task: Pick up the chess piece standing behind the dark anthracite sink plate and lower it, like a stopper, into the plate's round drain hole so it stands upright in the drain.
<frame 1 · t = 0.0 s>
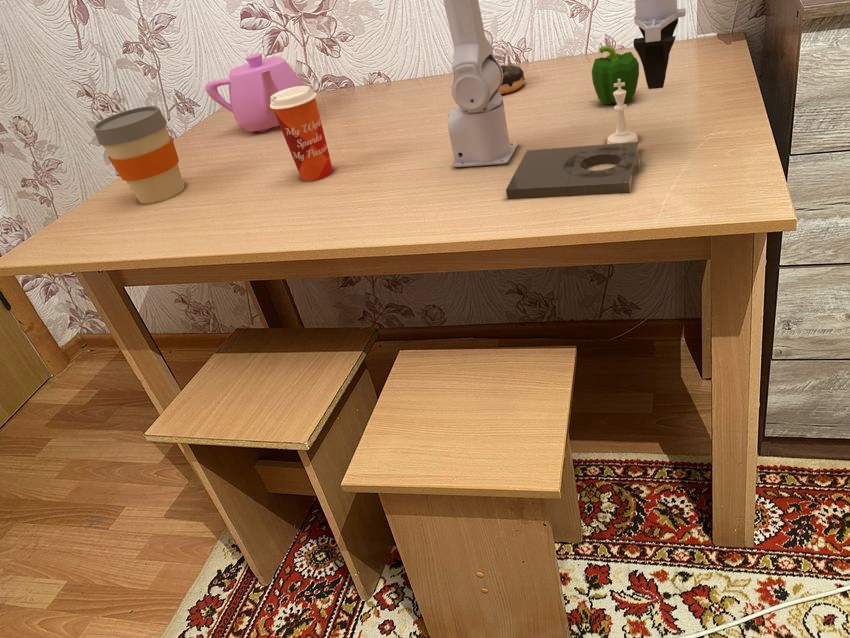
hand: (657, 79, 104), 10 cm above the table, tool pointing down, fingers open, 7 cm apart
donut: (498, 90, 150), on the table
teapot: (277, 123, 162), on the table
bell pepper: (617, 101, 130), on the table
coffee cup: (317, 175, 129), on the table
sink plate: (574, 174, 107), on the table
reusable coffee cup: (162, 194, 136), on the table
chess piece: (622, 142, 114), on the table
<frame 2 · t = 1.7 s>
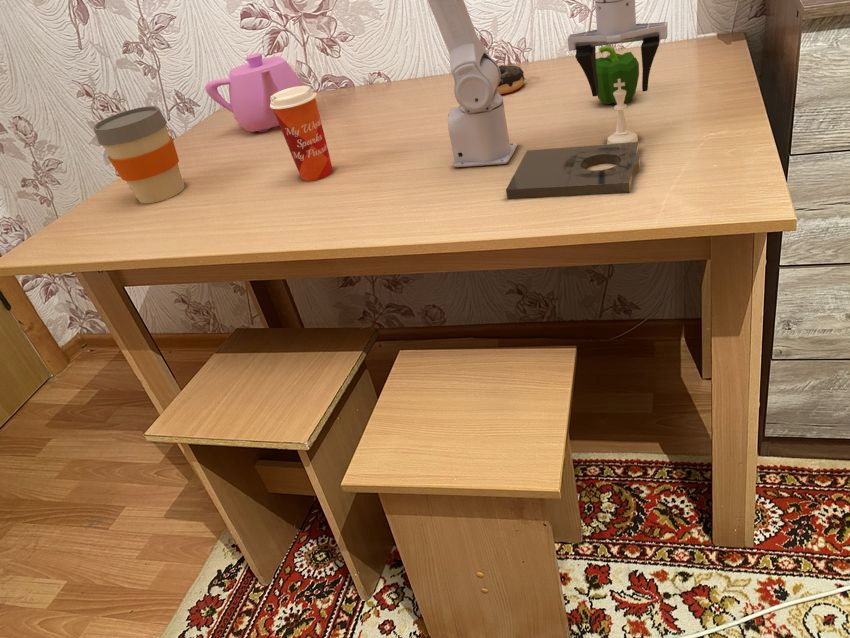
hand: (620, 91, 109), 8 cm above the table, tool pointing down, fingers open, 7 cm apart
nothing on the table moved.
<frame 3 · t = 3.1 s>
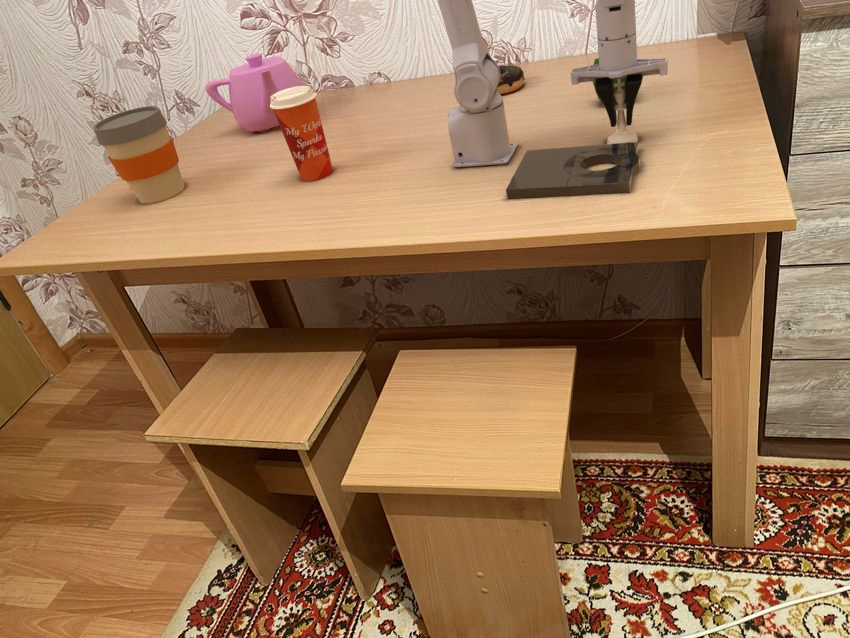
hand: (621, 124, 112), 3 cm above the table, tool pointing down, fingers closed on chess piece
chess piece: (622, 142, 114), on the table, touching gripper
everything else where it was.
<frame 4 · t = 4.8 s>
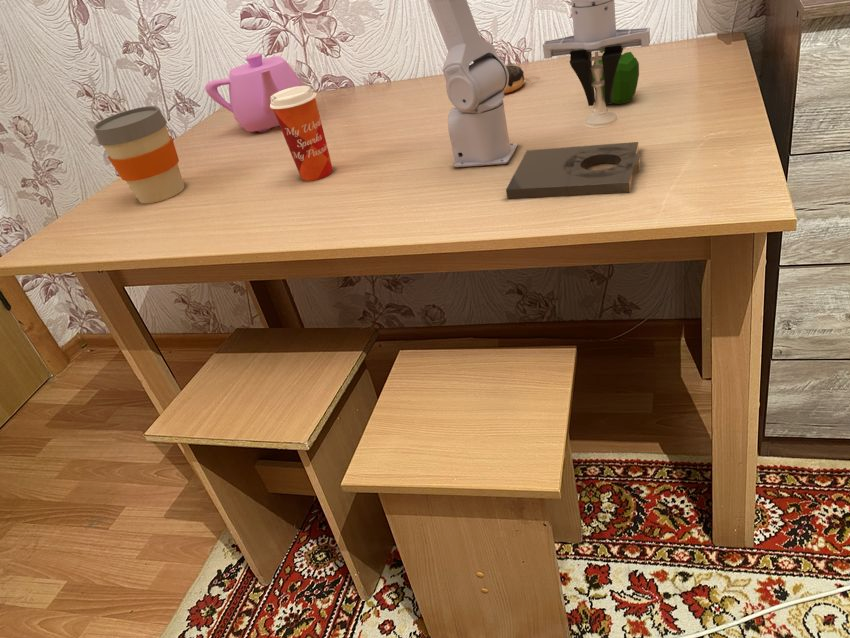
hand: (599, 102, 101), 10 cm above the table, tool pointing down, fingers closed on chess piece
chess piece: (601, 123, 103), point 7 cm above the table, touching gripper
everything else where it was.
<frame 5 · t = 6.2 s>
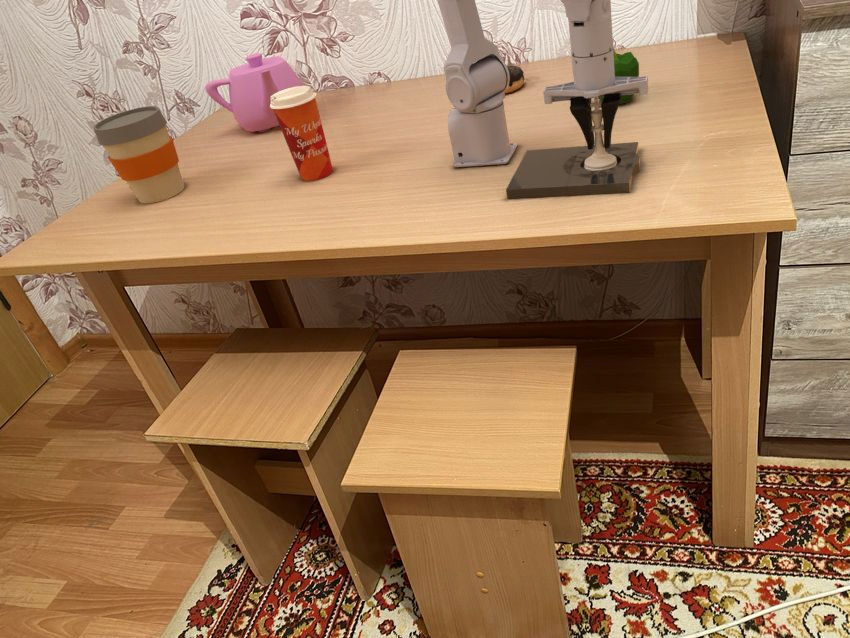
hand: (599, 146, 104), 4 cm above the table, tool pointing down, fingers closed on chess piece
chess piece: (600, 165, 105), point 1 cm above the table, touching gripper
everything else where it was.
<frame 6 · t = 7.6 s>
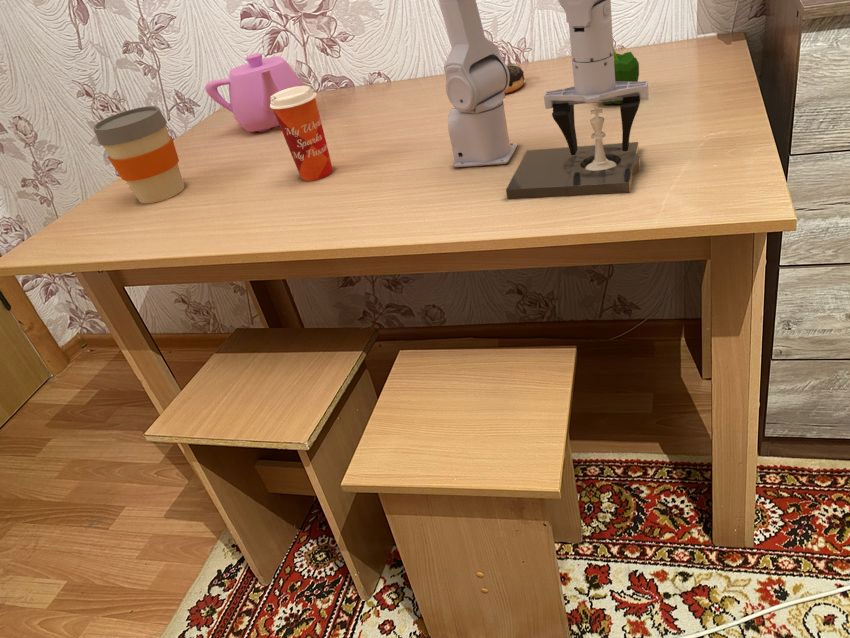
hand: (599, 150, 104), 3 cm above the table, tool pointing down, fingers open, 7 cm apart
chess piece: (601, 172, 106), resting in sink plate
everything else where it was.
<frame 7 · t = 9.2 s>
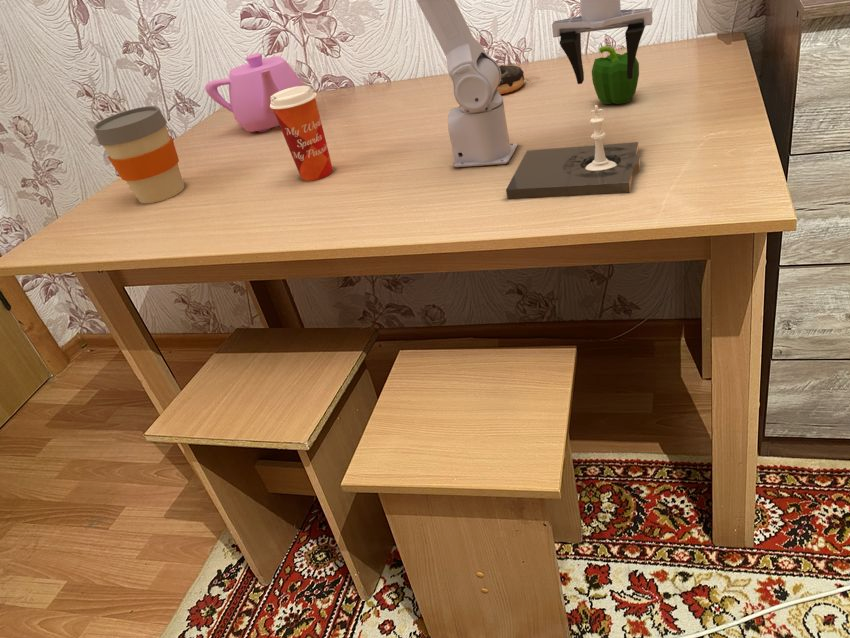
hand: (605, 79, 108), 10 cm above the table, tool pointing down, fingers open, 7 cm apart
nothing on the table moved.
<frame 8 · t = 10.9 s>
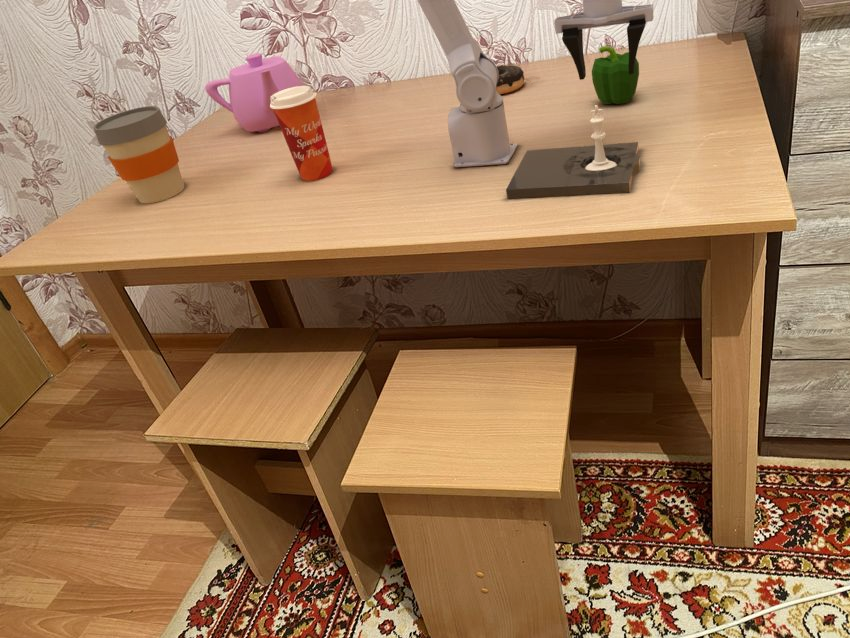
hand: (607, 75, 110), 10 cm above the table, tool pointing down, fingers open, 7 cm apart
nothing on the table moved.
at the end: chess piece 0.0 cm from the target spot in the sink plate, point 0.0 cm above the sink plate's base; chess piece tilted 0°; the gripper is holding nothing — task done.
